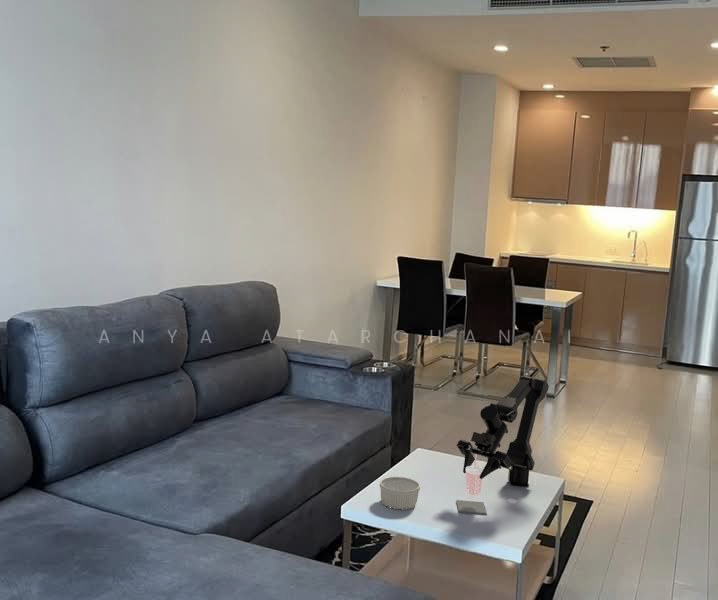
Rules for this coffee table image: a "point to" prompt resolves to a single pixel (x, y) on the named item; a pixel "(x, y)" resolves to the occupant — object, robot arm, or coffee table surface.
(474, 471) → the beverage cup
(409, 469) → the coffee table surface
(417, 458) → the coffee table surface
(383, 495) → the ramekin
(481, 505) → the coaster
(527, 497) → the coffee table surface
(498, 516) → the coffee table surface
